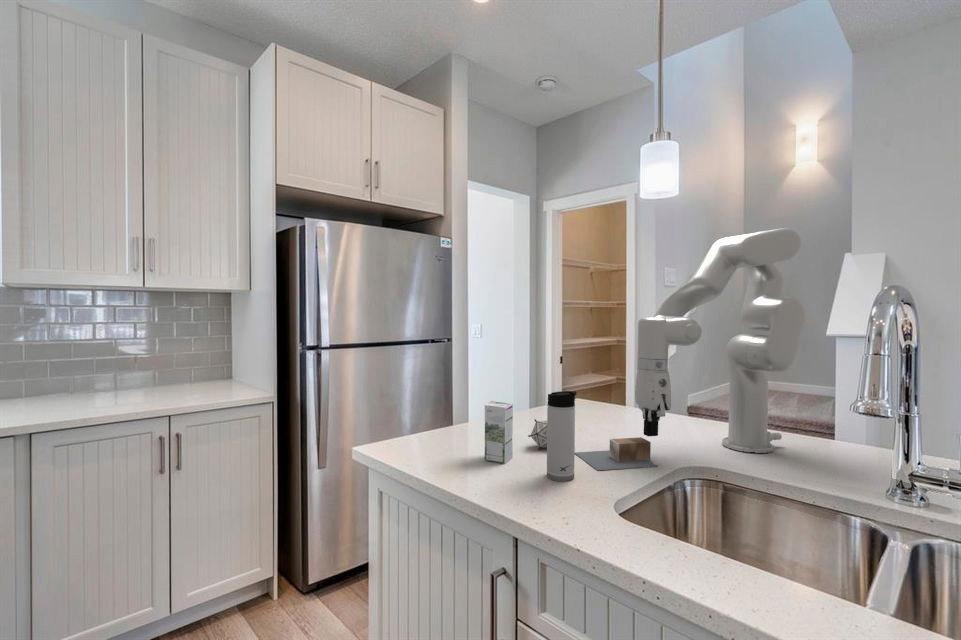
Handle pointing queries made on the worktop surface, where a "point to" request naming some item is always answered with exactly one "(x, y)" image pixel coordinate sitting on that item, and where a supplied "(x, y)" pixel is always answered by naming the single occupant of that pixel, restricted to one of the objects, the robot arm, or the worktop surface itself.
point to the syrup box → (498, 431)
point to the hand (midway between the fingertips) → (650, 435)
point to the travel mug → (561, 435)
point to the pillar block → (630, 449)
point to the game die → (540, 433)
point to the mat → (610, 461)
